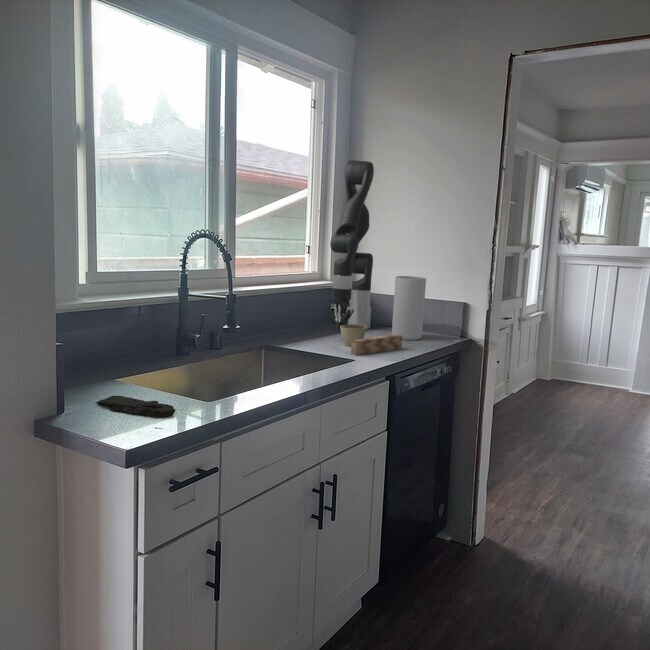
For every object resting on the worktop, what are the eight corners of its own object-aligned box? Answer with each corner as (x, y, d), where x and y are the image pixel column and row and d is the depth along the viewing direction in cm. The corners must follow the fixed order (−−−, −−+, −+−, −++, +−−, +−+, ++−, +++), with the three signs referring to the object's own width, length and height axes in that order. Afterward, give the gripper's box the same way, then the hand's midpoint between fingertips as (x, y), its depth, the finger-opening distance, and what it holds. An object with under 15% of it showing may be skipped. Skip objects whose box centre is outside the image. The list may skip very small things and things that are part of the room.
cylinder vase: (389, 334, 265) (393, 275, 260) (418, 335, 265) (423, 276, 261) (393, 339, 252) (398, 278, 248) (424, 341, 253) (429, 279, 249)
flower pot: (370, 345, 237) (371, 327, 236) (353, 348, 230) (354, 329, 229) (351, 341, 244) (352, 323, 243) (333, 344, 237) (334, 325, 236)
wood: (85, 407, 148) (85, 395, 147) (109, 399, 154) (109, 387, 154) (160, 424, 138) (160, 411, 138) (181, 415, 145) (181, 403, 144)
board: (396, 347, 236) (397, 334, 235) (401, 348, 234) (402, 335, 233) (350, 354, 220) (351, 339, 220) (355, 355, 219) (356, 340, 218)
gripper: (361, 288, 236) (358, 333, 239) (337, 284, 246) (335, 327, 249) (346, 289, 231) (343, 335, 234) (323, 285, 241) (321, 329, 244)
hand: (339, 331), depth 242 cm, fingers closed
